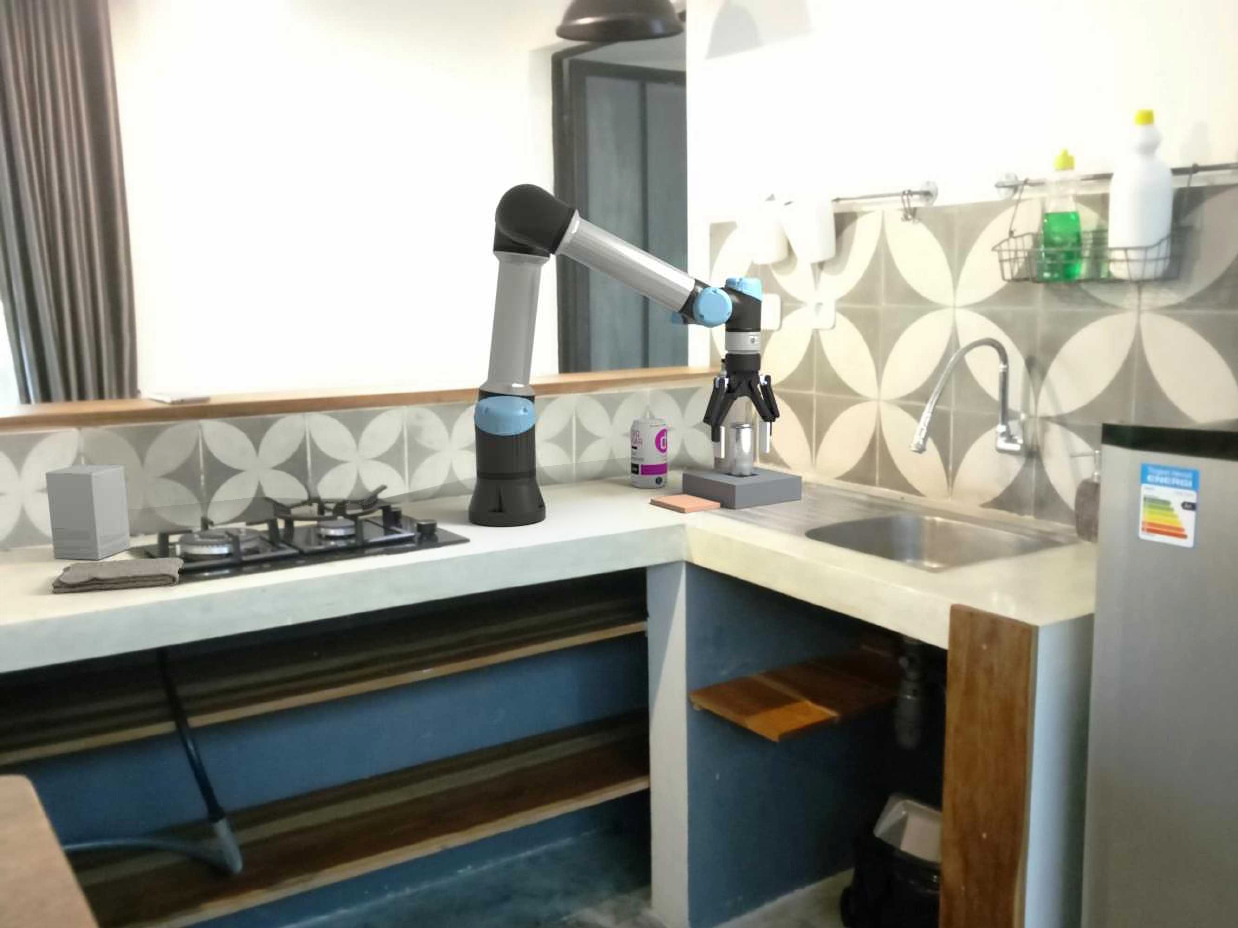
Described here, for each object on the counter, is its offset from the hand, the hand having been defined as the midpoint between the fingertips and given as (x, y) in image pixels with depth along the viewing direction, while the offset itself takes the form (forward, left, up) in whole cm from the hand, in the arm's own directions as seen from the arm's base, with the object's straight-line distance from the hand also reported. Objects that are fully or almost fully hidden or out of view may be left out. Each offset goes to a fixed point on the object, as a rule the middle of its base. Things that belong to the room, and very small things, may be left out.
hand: (741, 454), depth 232 cm
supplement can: (-8, +23, -10) cm, 26 cm away
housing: (0, 0, -9) cm, 9 cm away
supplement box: (-123, +26, -10) cm, 126 cm away
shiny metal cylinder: (0, 0, -9) cm, 9 cm away
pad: (-15, 0, -9) cm, 18 cm away
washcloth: (-122, +4, -10) cm, 122 cm away
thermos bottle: (+15, +22, -10) cm, 28 cm away
